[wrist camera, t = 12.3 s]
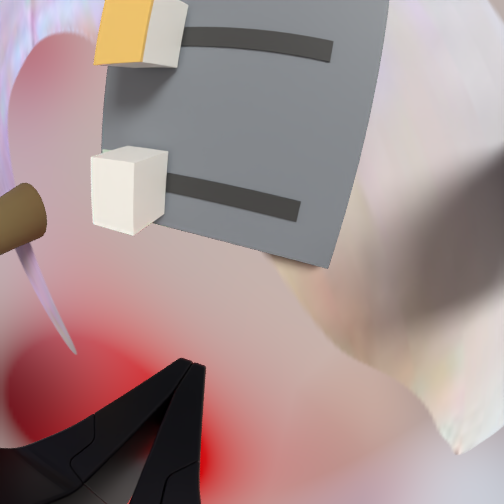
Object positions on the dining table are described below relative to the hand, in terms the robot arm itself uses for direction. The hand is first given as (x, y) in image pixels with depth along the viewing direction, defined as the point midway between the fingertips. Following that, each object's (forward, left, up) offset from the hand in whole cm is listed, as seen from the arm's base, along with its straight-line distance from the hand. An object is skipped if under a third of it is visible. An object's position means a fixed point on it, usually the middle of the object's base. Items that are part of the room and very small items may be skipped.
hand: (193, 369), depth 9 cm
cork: (+24, +4, -12) cm, 27 cm away
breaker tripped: (+8, -11, -10) cm, 17 cm away
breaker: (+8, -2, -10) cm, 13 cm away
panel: (+4, -11, -12) cm, 17 cm away
